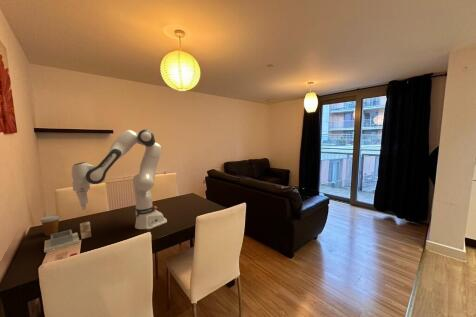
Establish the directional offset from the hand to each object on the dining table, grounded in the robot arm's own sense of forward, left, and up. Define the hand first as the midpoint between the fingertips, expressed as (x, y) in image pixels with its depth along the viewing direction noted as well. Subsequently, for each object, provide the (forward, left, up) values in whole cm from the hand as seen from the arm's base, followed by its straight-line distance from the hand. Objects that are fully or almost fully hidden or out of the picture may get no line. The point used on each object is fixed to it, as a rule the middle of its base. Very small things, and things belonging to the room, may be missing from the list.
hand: (83, 207), depth 131 cm
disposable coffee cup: (+17, -22, -20) cm, 34 cm away
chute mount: (+12, 0, -20) cm, 23 cm away
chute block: (0, 0, -20) cm, 20 cm away
